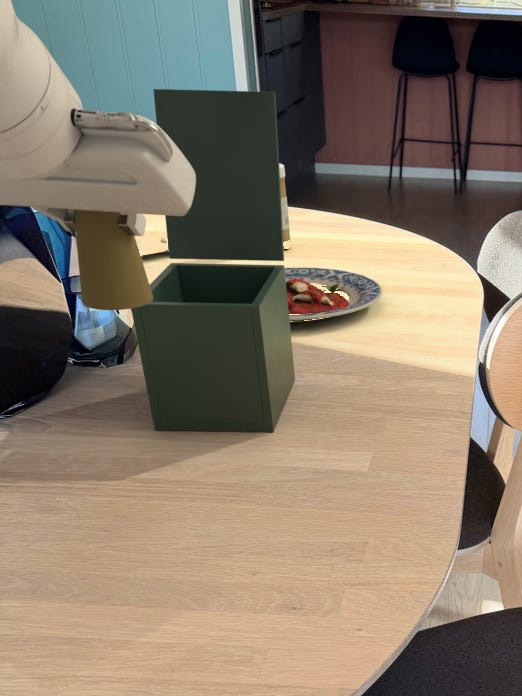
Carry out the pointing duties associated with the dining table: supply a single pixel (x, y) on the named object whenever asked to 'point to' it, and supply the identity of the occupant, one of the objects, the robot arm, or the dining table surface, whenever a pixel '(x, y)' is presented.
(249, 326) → the box
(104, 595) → the dining table surface
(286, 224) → the sprinkles bottle
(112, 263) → the olive pawn
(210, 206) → the lid
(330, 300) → the ceramic plate
